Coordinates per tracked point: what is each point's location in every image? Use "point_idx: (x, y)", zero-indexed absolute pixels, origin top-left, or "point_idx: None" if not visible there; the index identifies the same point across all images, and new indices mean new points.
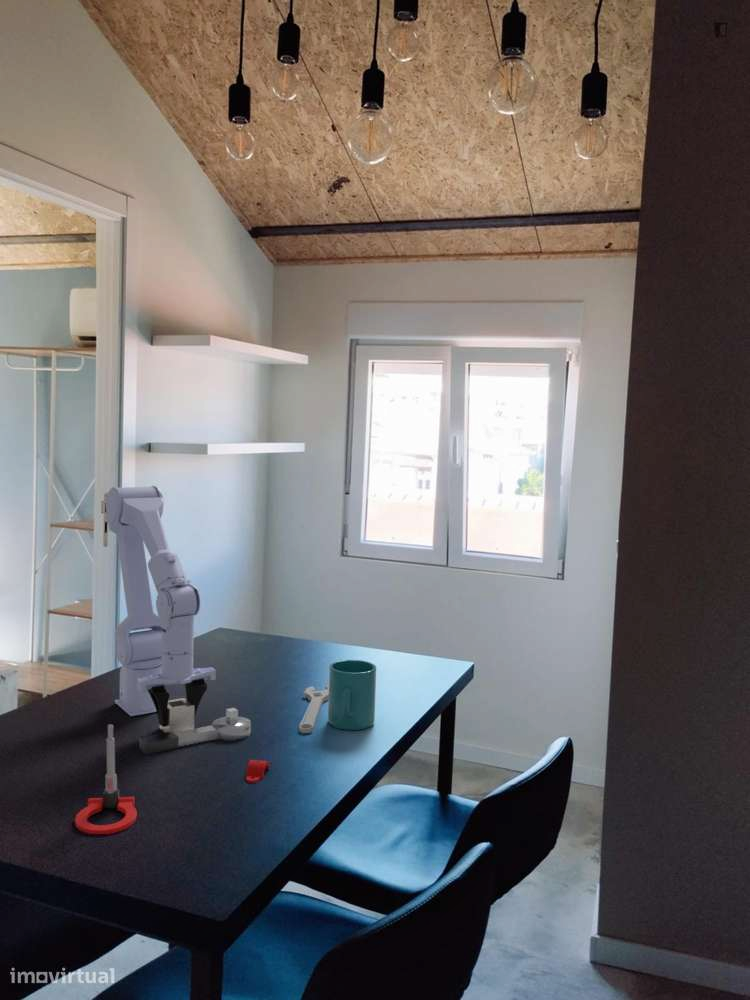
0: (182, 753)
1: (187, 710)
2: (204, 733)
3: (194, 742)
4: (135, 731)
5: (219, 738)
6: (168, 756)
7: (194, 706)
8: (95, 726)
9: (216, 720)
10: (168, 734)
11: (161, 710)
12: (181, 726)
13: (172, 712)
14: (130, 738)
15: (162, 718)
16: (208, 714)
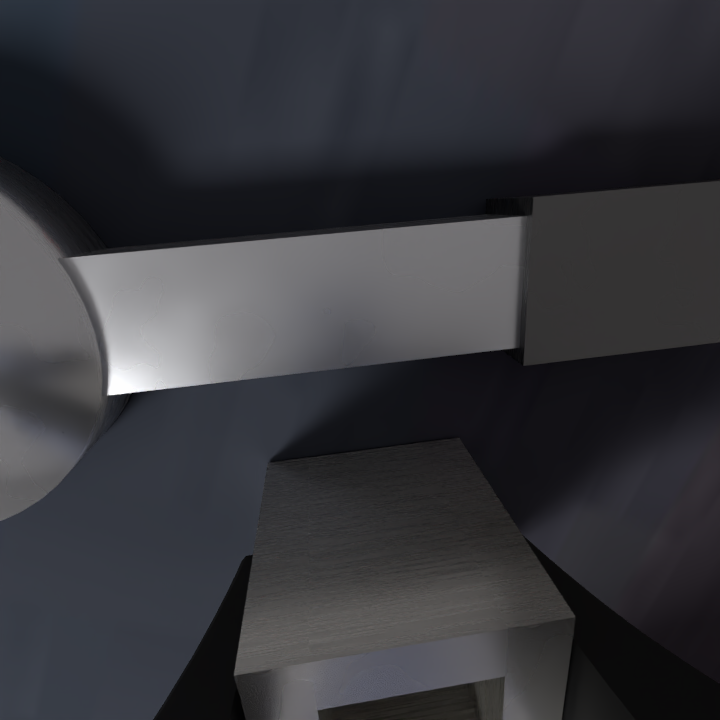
0: (510, 40)
1: (333, 608)
2: (232, 241)
3: (339, 227)
4: (593, 575)
5: (92, 232)
6: (637, 34)
7: (225, 679)
8: (713, 678)
9: (38, 474)
10: (583, 304)
11: (640, 632)
12: (378, 483)
13: (520, 586)
14: (667, 491)
15: (556, 568)
16: (96, 693)
